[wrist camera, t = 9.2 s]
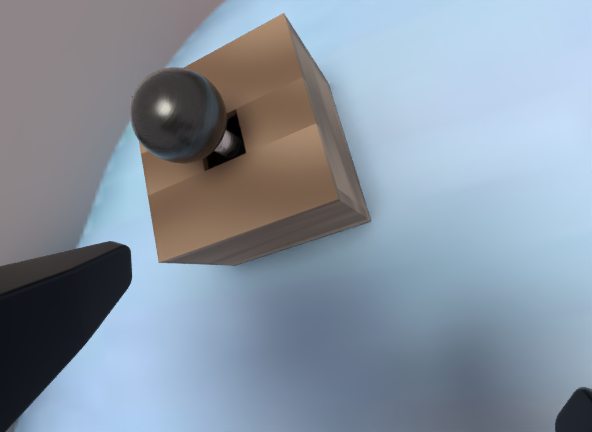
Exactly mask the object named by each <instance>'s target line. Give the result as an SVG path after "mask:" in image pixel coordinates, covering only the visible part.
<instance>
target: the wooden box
mask: <svg viewBox="0 0 592 432" xmlns="http://www.w3.org/2000/svg"><path fill="white" fill-rule="evenodd" d="M184 68H185V69H189V70H192V71H195V72H197V73H199V74H201V75H202V76H204V77H205V78H207V79H208V80H209V81H210V82H211V83H212V84H213V85H214V86H215V87H216V88H217V90H218V91H219V93H220V94H221V96H222V99H223V101H224V103H225V107H226V112H227V127H226V130H228V131H229V132H230V131H232V130H235V129H237V128H239V127H240V128H241V133H242V137H243V141H244V145H245V149H246V154H244V155H241V156H239V157H237V158H234V159H232V160H230V161H227V162H225V163H223V164H220V165H218V166H217V162H216V157H215V153H214V151H213V152H212V153H211V154H210V155H208V156H207V157H205V158H203V159H201V160H199V161H196V162H192V163H183V164H180V163H172V162H168V161H165V160H162V159H160V158H158V157H156V156H155V155H153V154H152V153H151V152H149V151H148V150H147V149H146V148H145V147H144V146H143V145H142V144H141V142H140V141H139V144H140V150H141V156H142V162H143V169H144V175H145V181H146V187H147V193H148V199H149V205H150V212H151V218H152V224H153V230H154V236H155V242H156V248H157V255H158V261H159V263H182V264H208V265H237V264H240V263H244V262H247V261H250V260H253V259H256V258H259V257H262V256H265V255H268V254H271V253H274V252H277V251H280V250H284V249H287V248H290V247H293V246H296V245H299V244H302V243H305V242H308V241H311V240H314V239H317V238H321V237H324V236H327V235H330V234H333V233H336V232H339V231H342V230H345V229H348V228H351V227H354V226H357V225H361V224H364V223H367V222H370V221H371V219H370V216H369V212H368V209H367V206H366V203H365V200H364V196H363V193H362V190H361V187H360V184H359V180H358V177H357V174H356V171H355V167H354V164H353V161H352V158H351V155H350V151H349V148H348V145H347V142H346V139H345V135H344V132H343V129H342V126H341V122H340V119H339V116H338V113H337V110H336V106H335V103H334V100H333V97H332V94H331V90H330V87H329V84H328V82H327V80H326V79H325V77H324V75H323V74H322V72H321V71H320V69H319V68H318V66H317V64H316V63H315V61H314V60H313V58H312V57H311V55H310V53H309V52H308V50H307V49H306V47H305V46H304V44H303V42H302V41H301V39H300V38H299V36H298V35H297V33H296V31H295V30H294V28H293V27H292V25H291V24H290V22H289V20H288V19H287V17H286V16H285V14H284V13H283V14H281V15H279V16H278V17H276V18H274V19H272V20H270V21H268V22H267V23H265V24H263V25H261V26H259V27H257V28H256V29H254V30H252V31H250V32H248V33H246V34H245V35H243V36H241V37H239V38H237V39H235V40H234V41H232V42H230V43H228V44H226V45H225V46H223V47H221V48H219V49H217V50H215V51H214V52H212V53H210V54H208V55H206V56H204V57H203V58H201V59H199V60H197V61H195V62H193V63H192V64H190V65H188V66H186V67H184ZM132 97H133V96H132Z"/></svg>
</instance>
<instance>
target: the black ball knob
mask: <svg viewBox="0 0 592 432" xmlns="http://www.w3.org/2000/svg"><path fill="white" fill-rule="evenodd" d="M130 119H131V124H132V127H133V130H134V133H135V135H136V136H137V138H138V140H139V141H140V142H141V144H142V145H143V146H144V147H145V148H146V149H147V150H148V151H149V152H151V153H152V154H153V155H155V156H156V157H158V158H160V159H162V160H165V161H168V162H172V163H180V164H183V163H192V162H196V161H199V160H201V159H203V158H205V157H207V156H208V155H210V154H211V153H212V152H213V151H214V153H215V157H216V162H217V166H218V165H220V164H223V163H225V162H227V161H230V160H232V159H234V158H237V157H239V156H241V155H244V154H246V149H245V145H244V141H243V137H242V133H241V128H240V127H239V128H237V129H235V130H232V131H230V132H229V131H228V130H226V127H227V112H226V107H225V103H224V101H223V99H222V96H221V94H220V93H219V91H218V90H217V88H216V87H215V86H214V85H213V84H212V83H211V82H210V81H209V80H208V79H207V78H205V77H204V76H202V75H201V74H199V73H197V72H195V71H192V70H189V69H185V68H166V69H161V70H158V71H156V72H154V73H152V74H150V75H149V76H147V77H146V78H145V79H144V80H143V81H142V82H141V83H140V84H139V86H138V87H137V88H136V90H135V92H134V94H133V97H132V101H131V106H130Z"/></svg>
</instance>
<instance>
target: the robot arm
mask: <svg viewBox="0 0 592 432" xmlns="http://www.w3.org/2000/svg"><path fill="white" fill-rule="evenodd" d="M131 280H132V264H131V251H130V249H129V247H128V246H126V245H123V244H120V243H117V242H113V241H109V242H104V243H100V244H95V245H91V246H86V247H82V248H78V249H74V250H69V251H65V252H60V253H56V254H52V255H47V256H43V257H38V258H34V259H30V260H26V261H21V262H17V263H13V264H8V265H4V266H0V432H6V431H7V430H8V429H9V428H10V427H11V426H12V425H13V423H14V422H15V421H16V420H17V419H18V418H19V417H20V416H21V415H22V414H23V412H24V411H25V410H26V409H27V408H28V407H29V406H30V405H31V404H32V403H33V402H34V400H35V399H36V398H37V397H38V396H39V395H40V394H41V393H42V392H43V391H44V389H45V388H46V387H47V386H48V385H49V384H50V383H51V382H52V381H53V380H54V379H55V377H56V376H57V375H58V374H59V373H60V372H61V371H62V370H63V369H64V368H65V367H66V365H67V364H68V363H69V362H70V361H71V360H72V359H73V358H74V357H75V356H76V354H77V353H78V352H79V351H80V350H81V349H82V348H83V346H84V345H85V344H86V343H87V342H88V340H89V339H90V338H91V337H92V335H93V334H94V333H95V332H96V330H97V329H98V328H99V326H100V325H101V324H102V322H103V321H104V320H105V318H106V317H107V316H108V314H109V313H110V312H111V310H112V309H113V308H114V306H115V305H116V304H117V302H118V301H119V300H120V298H121V297H122V296H123V294H124V293H125V292H126V290H127V289H128V287H129V286H130V284H131ZM555 431H556V432H592V389H590V388H586V387H581V388H578V389H577V390H576V391H575V392H574V393H573V395H572V396H571V397H570V399H569V400H568V402H567V403H566V404H565V406H564V407H563V409H562V410H561V411H560V413H559V414H558V416H557V419H556V423H555Z"/></svg>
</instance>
